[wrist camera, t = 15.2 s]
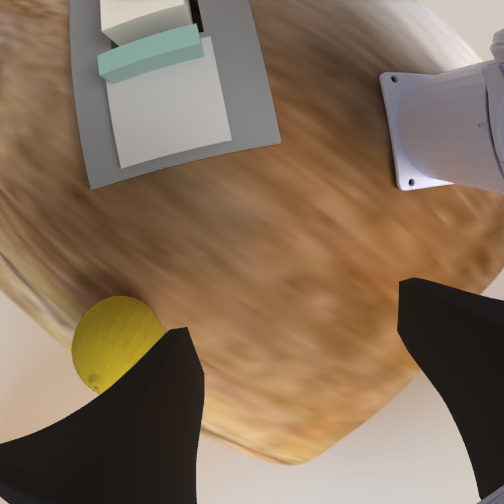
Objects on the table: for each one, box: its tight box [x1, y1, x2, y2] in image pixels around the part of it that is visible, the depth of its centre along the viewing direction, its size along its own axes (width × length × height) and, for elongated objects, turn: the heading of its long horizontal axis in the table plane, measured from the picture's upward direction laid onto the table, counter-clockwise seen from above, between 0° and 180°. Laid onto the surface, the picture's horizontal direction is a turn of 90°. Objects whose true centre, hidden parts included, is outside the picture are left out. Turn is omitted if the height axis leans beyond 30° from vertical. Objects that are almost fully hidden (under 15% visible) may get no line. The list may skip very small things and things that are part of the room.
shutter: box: [97, 24, 232, 169], centre depth 13 cm, size 6×6×3 cm
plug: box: [100, 0, 194, 47], centre depth 11 cm, size 4×4×6 cm
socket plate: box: [70, 0, 281, 190], centre depth 14 cm, size 11×15×2 cm
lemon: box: [72, 296, 164, 394], centre depth 16 cm, size 6×6×8 cm
